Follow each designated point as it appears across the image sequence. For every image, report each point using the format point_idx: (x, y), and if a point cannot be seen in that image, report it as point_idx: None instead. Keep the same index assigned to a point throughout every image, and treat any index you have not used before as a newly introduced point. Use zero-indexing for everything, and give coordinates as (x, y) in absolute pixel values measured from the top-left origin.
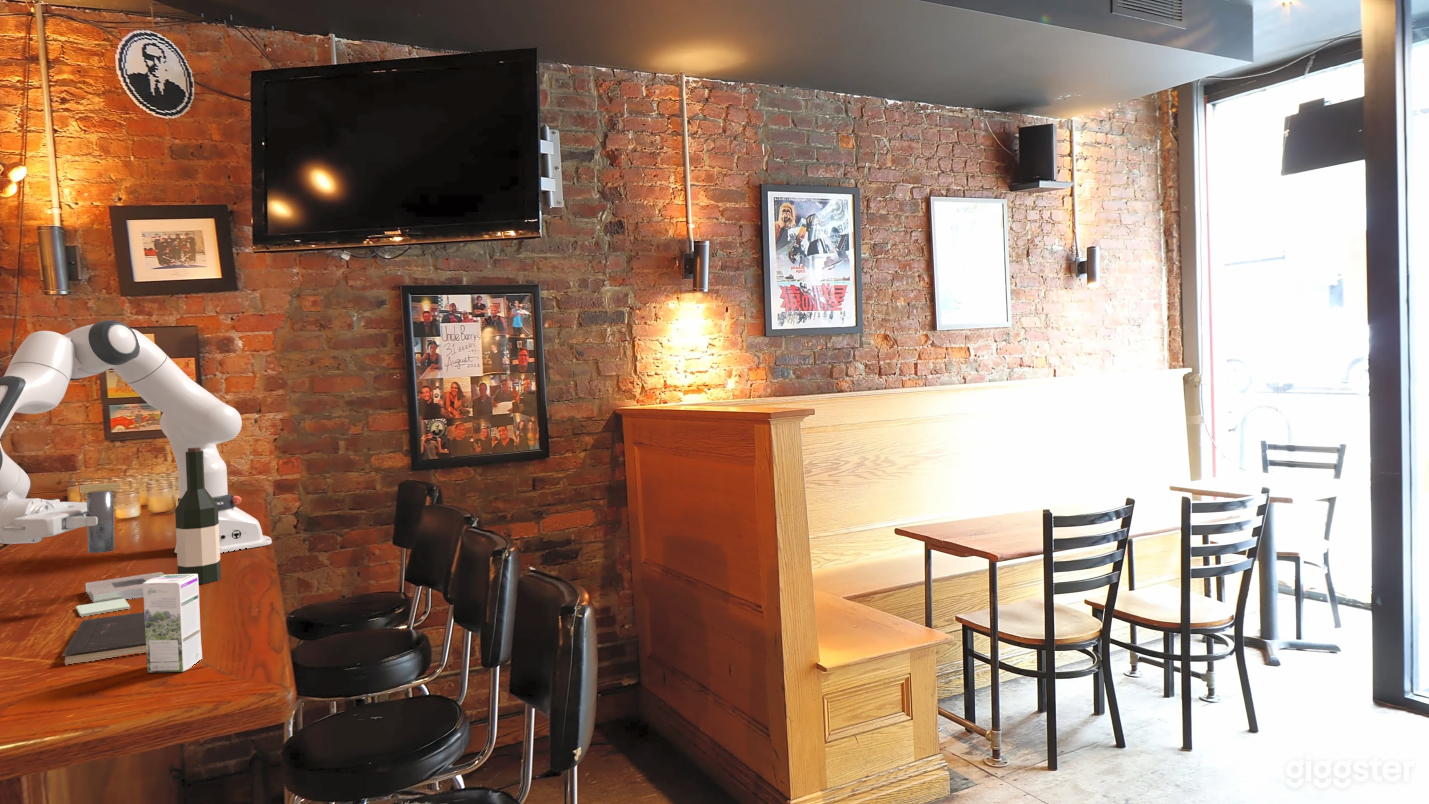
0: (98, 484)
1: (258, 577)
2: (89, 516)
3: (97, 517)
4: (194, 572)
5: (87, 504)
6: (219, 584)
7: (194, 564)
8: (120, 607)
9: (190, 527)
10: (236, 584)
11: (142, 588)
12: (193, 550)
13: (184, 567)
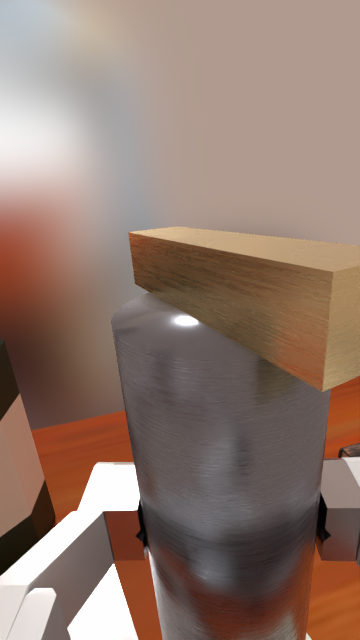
0: (222, 239)
1: (56, 434)
2: (356, 498)
3: (334, 458)
4: (42, 508)
5: (310, 457)
6: (77, 481)
7: (36, 491)
8: (307, 637)
9: (6, 406)
10: (98, 451)
11: (133, 625)
12: (27, 460)
13: (23, 522)
